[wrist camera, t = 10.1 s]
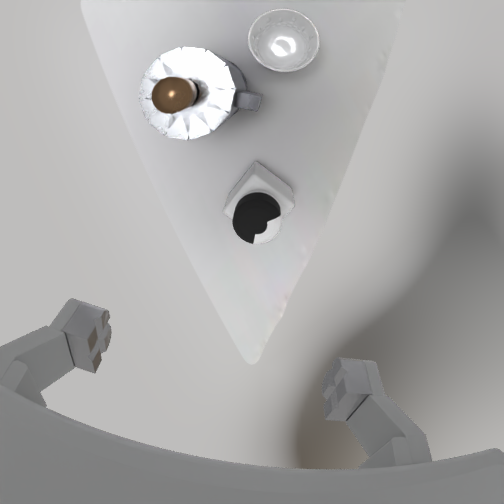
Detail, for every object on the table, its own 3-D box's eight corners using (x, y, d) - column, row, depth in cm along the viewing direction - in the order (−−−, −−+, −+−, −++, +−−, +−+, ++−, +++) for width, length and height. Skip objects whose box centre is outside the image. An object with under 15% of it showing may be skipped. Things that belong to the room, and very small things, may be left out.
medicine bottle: (227, 195, 49) (215, 229, 39) (255, 160, 46) (251, 185, 36) (264, 221, 51) (262, 260, 41) (292, 188, 48) (299, 221, 37)
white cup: (240, 46, 37) (232, 36, 29) (283, 14, 34) (286, -4, 26) (278, 85, 40) (280, 85, 31) (320, 53, 37) (334, 45, 29)
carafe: (187, 54, 38) (147, 42, 24) (269, 67, 39) (269, 58, 25) (175, 115, 43) (132, 133, 29) (254, 130, 44) (247, 153, 30)
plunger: (190, 63, 37) (139, 53, 21) (240, 70, 37) (218, 61, 21) (182, 109, 40) (127, 129, 24) (229, 117, 41) (202, 140, 25)
